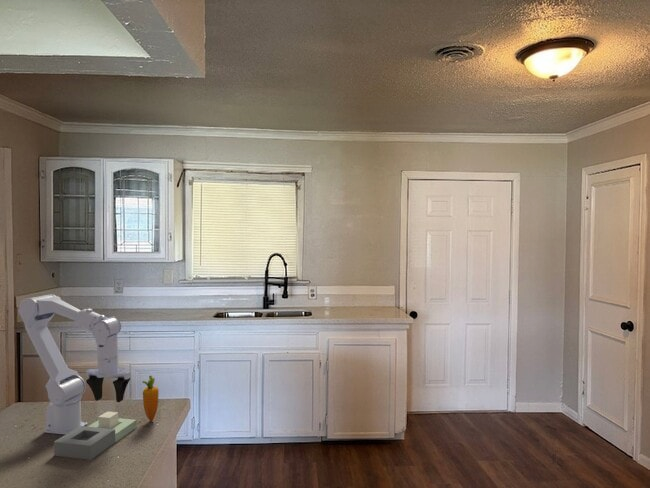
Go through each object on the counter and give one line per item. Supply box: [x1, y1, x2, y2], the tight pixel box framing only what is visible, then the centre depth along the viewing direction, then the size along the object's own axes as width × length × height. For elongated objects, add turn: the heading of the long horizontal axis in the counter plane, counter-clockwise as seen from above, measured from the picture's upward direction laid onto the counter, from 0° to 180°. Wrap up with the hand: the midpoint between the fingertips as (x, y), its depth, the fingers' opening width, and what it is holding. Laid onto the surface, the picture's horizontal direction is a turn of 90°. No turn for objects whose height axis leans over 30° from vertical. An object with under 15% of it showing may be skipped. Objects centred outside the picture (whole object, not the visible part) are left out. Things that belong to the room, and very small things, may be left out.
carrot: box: [142, 375, 159, 422], centre depth 144 cm, size 5×5×15 cm
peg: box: [97, 410, 120, 429], centre depth 136 cm, size 4×4×6 cm
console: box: [53, 417, 137, 461], centre depth 132 cm, size 20×12×4 cm, turn 168°
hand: (109, 400), depth 136 cm, fingers open, 7 cm apart
